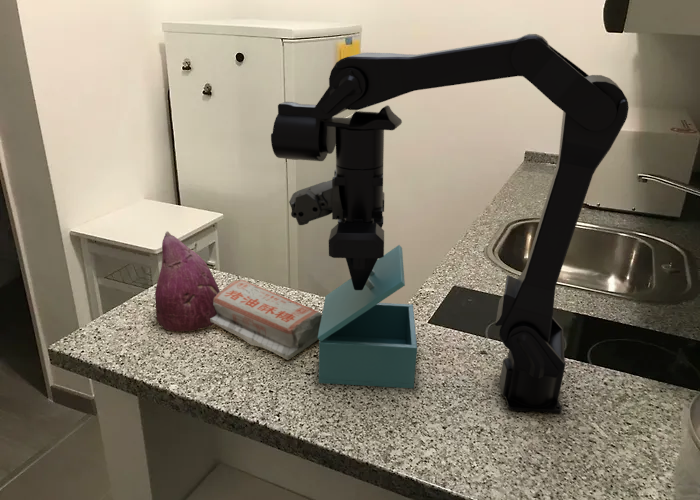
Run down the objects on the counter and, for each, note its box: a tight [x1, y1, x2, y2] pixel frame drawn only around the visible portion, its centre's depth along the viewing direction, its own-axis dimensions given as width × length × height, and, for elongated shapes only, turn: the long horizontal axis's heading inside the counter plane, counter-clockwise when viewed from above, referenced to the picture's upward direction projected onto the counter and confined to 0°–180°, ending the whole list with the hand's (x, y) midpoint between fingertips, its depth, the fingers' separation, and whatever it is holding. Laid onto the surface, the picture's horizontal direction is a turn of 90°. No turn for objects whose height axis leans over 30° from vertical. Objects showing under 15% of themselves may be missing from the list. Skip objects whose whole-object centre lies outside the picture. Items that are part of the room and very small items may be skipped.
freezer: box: [318, 302, 418, 389], centre depth 80 cm, size 12×11×6 cm
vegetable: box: [154, 230, 221, 332], centre depth 89 cm, size 10×10×15 cm
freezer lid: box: [318, 244, 406, 341], centre depth 76 cm, size 13×11×5 cm
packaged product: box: [210, 279, 322, 361], centre depth 87 cm, size 18×5×10 cm
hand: (359, 280), depth 76 cm, fingers closed on freezer lid, 5 cm apart
